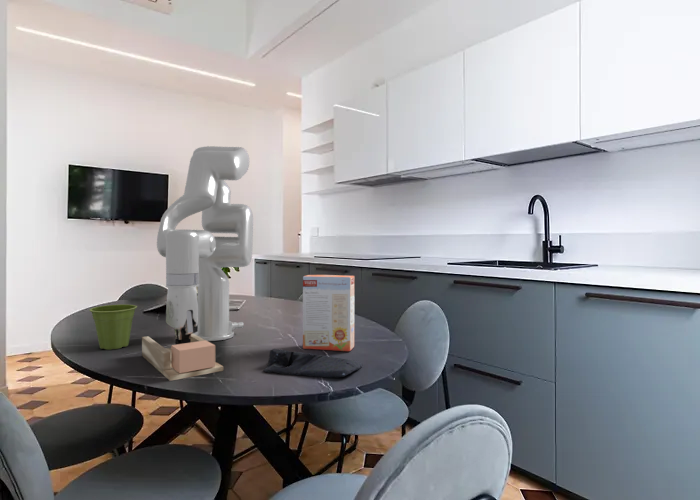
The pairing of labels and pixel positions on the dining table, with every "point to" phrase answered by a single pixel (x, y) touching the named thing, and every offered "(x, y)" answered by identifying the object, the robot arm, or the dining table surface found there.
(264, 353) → the dining table surface
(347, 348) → the cracker box
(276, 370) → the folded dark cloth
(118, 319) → the plant pot
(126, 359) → the dining table surface
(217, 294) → the robot arm
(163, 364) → the chute
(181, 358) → the block
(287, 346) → the dining table surface
